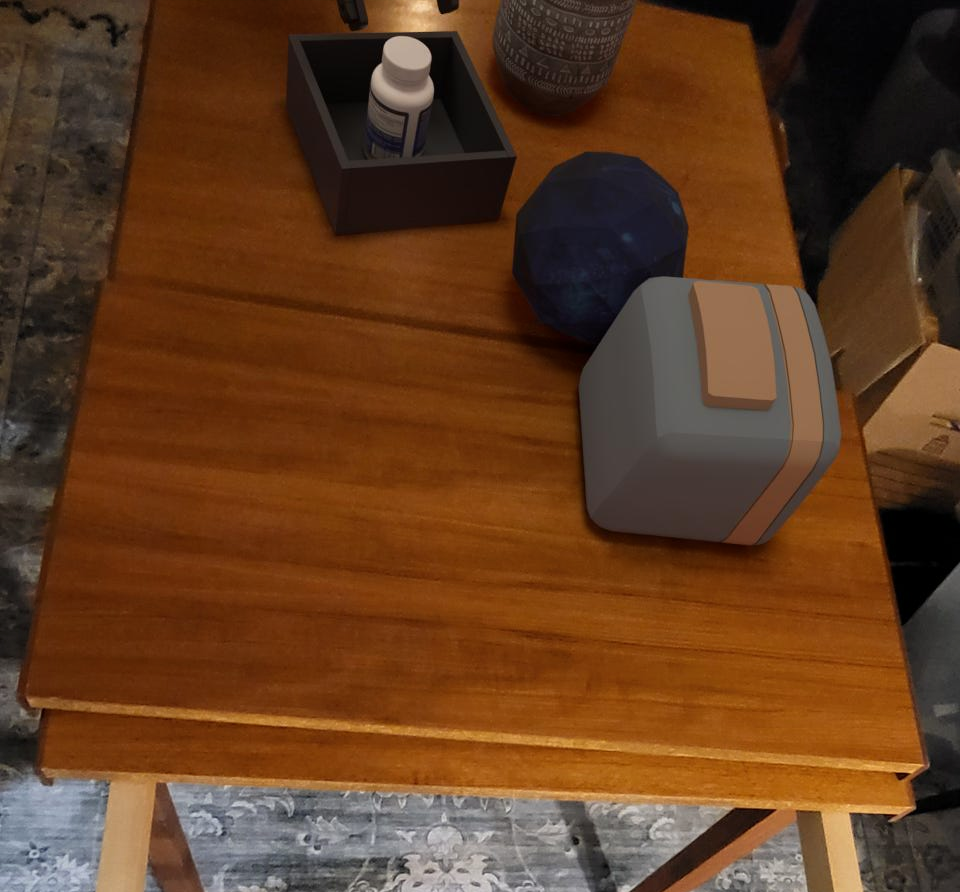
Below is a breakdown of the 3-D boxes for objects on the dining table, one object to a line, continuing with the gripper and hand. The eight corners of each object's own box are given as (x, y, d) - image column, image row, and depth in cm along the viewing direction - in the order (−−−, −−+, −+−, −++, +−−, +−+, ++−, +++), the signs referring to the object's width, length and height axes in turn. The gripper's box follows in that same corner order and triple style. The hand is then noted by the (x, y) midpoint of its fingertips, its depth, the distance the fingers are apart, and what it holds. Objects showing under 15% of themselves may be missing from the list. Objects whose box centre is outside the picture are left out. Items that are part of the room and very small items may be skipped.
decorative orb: (731, 313, 82) (720, 119, 72) (614, 387, 75) (585, 184, 66) (609, 297, 91) (586, 124, 82) (496, 361, 85) (457, 182, 76)
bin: (335, 235, 82) (342, 168, 76) (285, 107, 87) (288, 34, 81) (498, 220, 87) (517, 156, 81) (443, 99, 92) (457, 30, 86)
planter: (459, 71, 94) (488, -68, 83) (536, 30, 99) (573, -107, 88) (549, 147, 93) (591, 16, 81) (622, 101, 98) (672, -29, 86)
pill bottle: (406, 130, 88) (423, 26, 79) (431, 172, 87) (451, 70, 78) (353, 138, 86) (364, 32, 77) (377, 181, 85) (392, 78, 76)
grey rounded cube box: (769, 557, 79) (882, 443, 65) (582, 538, 76) (659, 413, 61) (744, 398, 85) (843, 262, 71) (571, 374, 82) (638, 226, 68)
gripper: (277, -264, 63) (348, 24, 71) (455, -274, 68) (503, -6, 76) (240, -215, 69) (309, 46, 76) (406, -228, 74) (455, 17, 82)
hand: (406, 20), depth 76 cm, fingers open, 8 cm apart
